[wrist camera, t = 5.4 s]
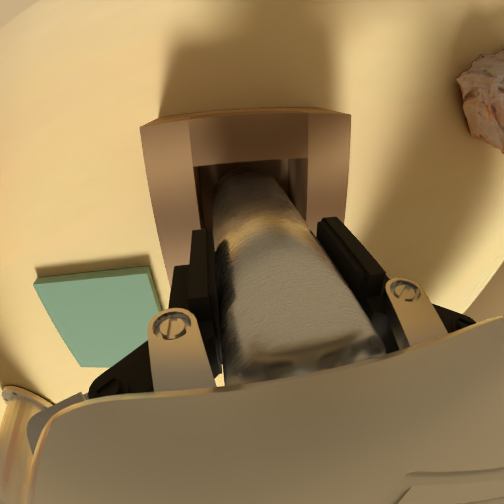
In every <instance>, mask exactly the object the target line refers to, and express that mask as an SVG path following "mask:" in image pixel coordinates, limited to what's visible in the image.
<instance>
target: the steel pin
mask: <svg viewBox="0 0 504 504" xmlns="http://www.w3.org/2000/svg"><path fill="white" fill-rule="evenodd" d="M212 218H213V238H214V247H215V257H216V272H217V286H218V299H219V312H220V324H221V325H220V340H221V351H222V362H223V372H224V382H225V386H231V385H240V384H248V383H255V382H262V381H268V380H274V379H280V378H286V377H292V376H297V375H302V374H308V373H312V372H317V371H322V370H327V369H331V368H336V367H340V366H344V365H348V364H352V363H356V362H360V361H364V360H368V359H371V358H375V357H378V356H382V355H385V354H386V349H385V346H384V343H383V342H382V340H381V338H380V336H379V335H378V333H377V331H376V330H375V328H374V326H373V325H372V323H371V321H370V320H369V318H368V316H367V315H366V313H365V312H364V310H363V308H362V307H361V305H360V304H359V302H358V300H357V299H356V297H355V296H354V294H353V292H352V291H351V289H350V288H349V286H348V285H347V283H346V281H345V280H344V278H343V277H342V275H341V274H340V272H339V271H338V269H337V268H336V266H335V265H334V263H333V261H332V260H331V258H330V257H329V255H328V254H327V252H326V251H325V250H324V248H323V247H322V245H321V244H320V242H319V241H318V239H317V238H316V236H315V235H314V233H313V232H312V230H311V229H310V228H309V226H308V225H307V223H306V222H305V220H304V219H303V218H302V216H301V215H300V213H299V212H298V210H297V209H296V208H295V206H294V205H293V203H292V202H291V201H290V199H289V198H288V197H287V195H286V194H285V192H284V191H283V190H282V188H281V187H280V186H279V184H278V183H277V181H276V180H275V179H274V178H273V177H272V176H271V175H270V174H269V173H268V172H266V171H264V170H262V169H260V168H256V167H240V168H236V169H234V170H231V171H229V172H228V173H226V174H225V175H224V176H223V177H222V178H221V179H220V180H219V181H218V182H217V184H216V186H215V188H214V190H213V194H212Z"/></svg>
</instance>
